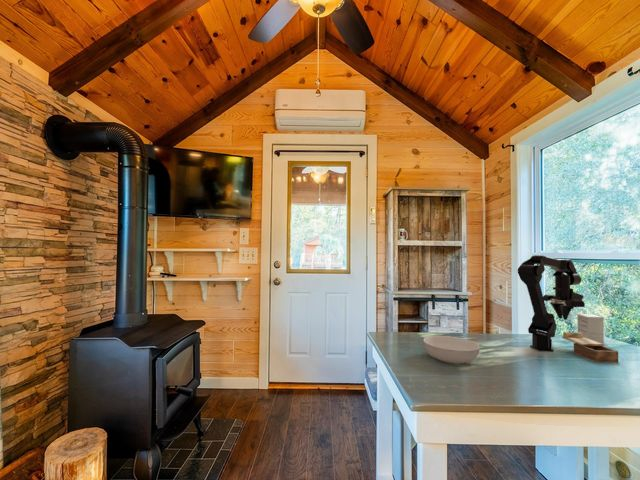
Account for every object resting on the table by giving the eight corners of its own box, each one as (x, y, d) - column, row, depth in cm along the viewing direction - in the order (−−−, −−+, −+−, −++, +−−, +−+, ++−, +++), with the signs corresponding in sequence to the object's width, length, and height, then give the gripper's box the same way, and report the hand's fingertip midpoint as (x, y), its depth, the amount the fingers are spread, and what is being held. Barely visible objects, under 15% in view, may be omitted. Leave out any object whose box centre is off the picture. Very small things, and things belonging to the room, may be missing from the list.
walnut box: (595, 362, 128) (595, 351, 128) (573, 353, 139) (573, 342, 139) (618, 362, 128) (618, 351, 128) (594, 353, 139) (594, 343, 139)
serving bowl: (487, 371, 116) (487, 352, 116) (426, 366, 120) (426, 348, 120) (472, 353, 136) (472, 337, 136) (420, 349, 140) (420, 333, 140)
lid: (582, 345, 134) (582, 339, 134) (562, 338, 145) (562, 332, 145) (603, 345, 134) (603, 339, 134) (581, 338, 145) (581, 332, 145)
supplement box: (592, 339, 161) (592, 314, 161) (604, 343, 154) (604, 317, 154) (576, 338, 162) (576, 313, 162) (587, 342, 154) (587, 316, 155)
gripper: (596, 288, 142) (597, 323, 142) (564, 283, 161) (564, 315, 160) (571, 288, 142) (572, 323, 142) (542, 283, 161) (542, 314, 160)
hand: (562, 319), depth 151 cm, fingers open, 3 cm apart
